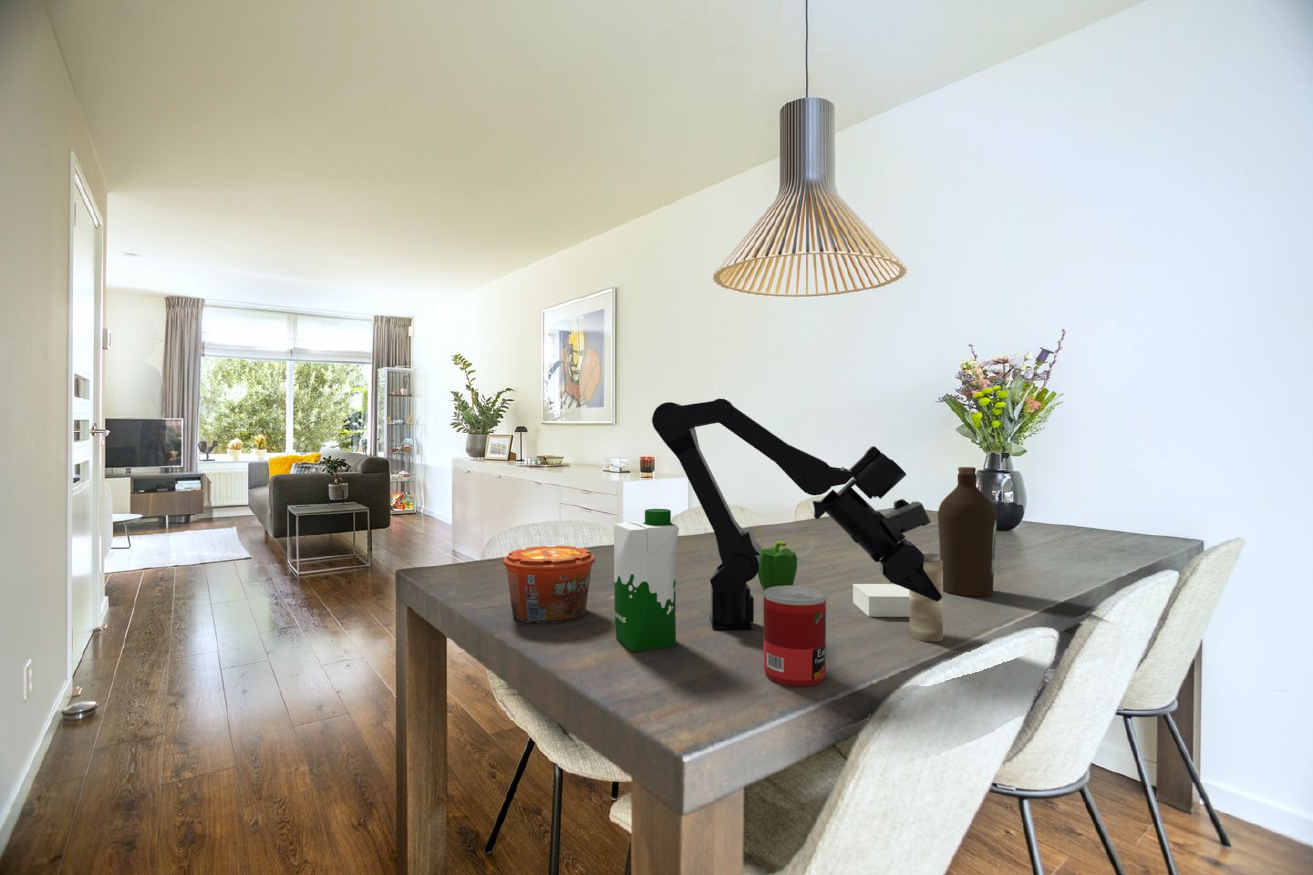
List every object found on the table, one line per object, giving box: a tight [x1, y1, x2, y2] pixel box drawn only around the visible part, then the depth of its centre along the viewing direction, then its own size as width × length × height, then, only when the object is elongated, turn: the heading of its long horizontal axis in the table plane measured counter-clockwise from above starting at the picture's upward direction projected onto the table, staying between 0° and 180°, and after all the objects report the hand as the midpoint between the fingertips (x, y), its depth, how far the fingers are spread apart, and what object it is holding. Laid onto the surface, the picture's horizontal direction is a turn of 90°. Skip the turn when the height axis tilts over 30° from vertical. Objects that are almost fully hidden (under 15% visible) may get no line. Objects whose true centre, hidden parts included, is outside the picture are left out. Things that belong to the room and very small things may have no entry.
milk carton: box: [613, 508, 680, 653], centre depth 95 cm, size 9×9×20 cm
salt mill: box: [909, 550, 944, 642], centre depth 97 cm, size 5×5×13 cm
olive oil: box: [937, 466, 998, 598], centre depth 125 cm, size 11×11×25 cm
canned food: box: [763, 585, 827, 688], centre depth 82 cm, size 8×8×11 cm
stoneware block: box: [852, 583, 910, 618], centre depth 112 cm, size 9×9×4 cm
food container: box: [502, 545, 596, 624], centre depth 110 cm, size 16×16×11 cm
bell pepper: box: [757, 540, 798, 590], centre depth 128 cm, size 8×8×10 cm
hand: (932, 591), depth 97 cm, fingers open, 9 cm apart
